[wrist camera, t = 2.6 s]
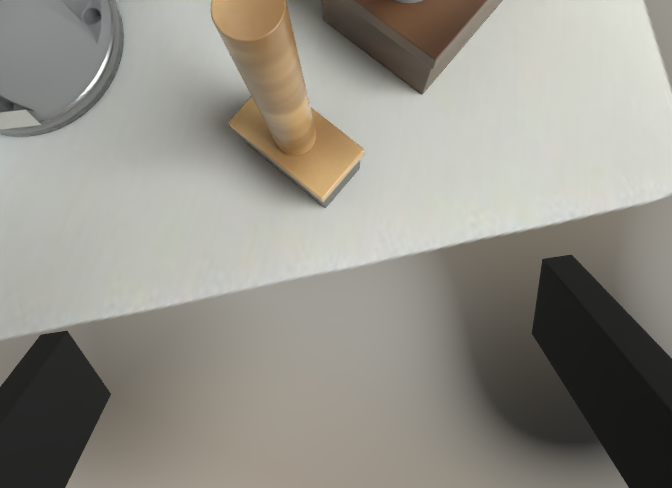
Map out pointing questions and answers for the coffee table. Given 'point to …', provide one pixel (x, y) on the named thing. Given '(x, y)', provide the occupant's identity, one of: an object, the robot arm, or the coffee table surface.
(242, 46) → the brush
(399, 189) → the coffee table surface
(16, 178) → the coffee table surface
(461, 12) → the walnut box
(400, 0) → the felt pad
